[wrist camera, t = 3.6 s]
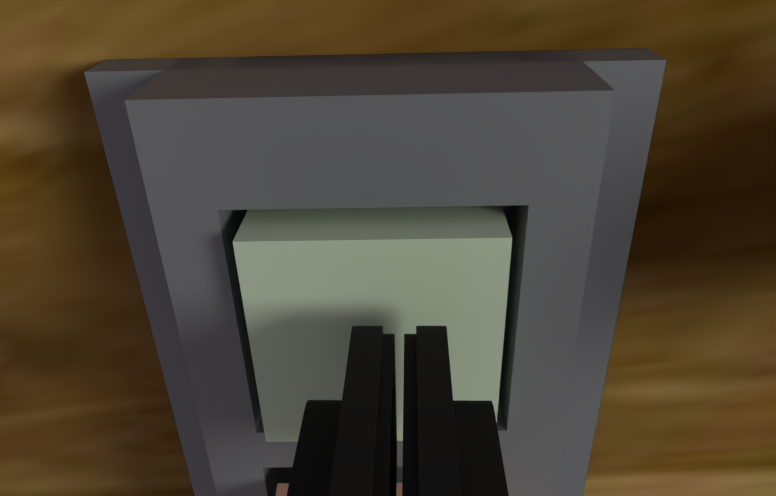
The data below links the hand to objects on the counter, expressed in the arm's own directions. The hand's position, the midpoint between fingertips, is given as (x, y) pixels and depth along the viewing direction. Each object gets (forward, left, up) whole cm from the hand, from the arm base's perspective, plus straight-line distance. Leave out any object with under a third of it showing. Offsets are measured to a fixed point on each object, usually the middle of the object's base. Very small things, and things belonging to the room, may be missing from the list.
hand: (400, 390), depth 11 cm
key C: (+1, 0, -3) cm, 3 cm away
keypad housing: (-6, +7, -4) cm, 10 cm away
